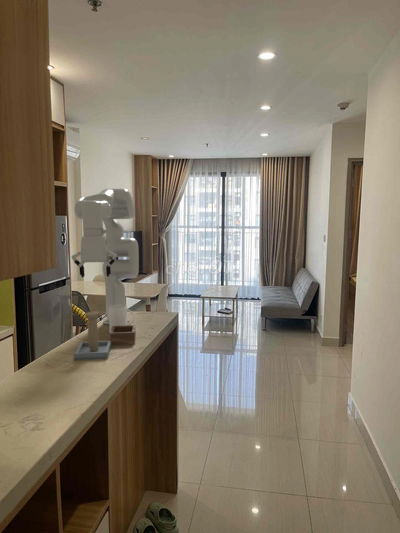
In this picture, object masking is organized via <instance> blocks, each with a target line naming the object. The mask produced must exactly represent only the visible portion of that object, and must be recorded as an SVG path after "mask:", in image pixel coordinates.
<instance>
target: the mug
mask: <svg viewBox="0 0 400 533" xmlns="http://www.w3.org/2000/svg"><path fill="white" fill-rule="evenodd" d="M128 312H129V313H130V314H131V315H132V317H133V318H132V321H131V322H130V323H129V322H127V317H128ZM134 322H135V314H134V311H132V310H130V309H129V308H127V305H126V304H125V305H112V306H109V324H108V325H109V334H110V332H111V329H112V326H127V325H133V324H134Z"/></svg>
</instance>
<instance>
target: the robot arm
mask: <svg viewBox="0 0 400 533" xmlns="http://www.w3.org/2000/svg"><path fill="white" fill-rule="evenodd" d="M135 208H136V207H135V205H134V200H133V197H132V195H131V192H130V191H129V190H128V189H126V188H104V189H102V190H101V191H100V192H99V193H98V194H97V193H96V194H93V195H87V196H84V197H81V198H79V199H78V200H77V201H76V202H75V204H74V215H75V216H76V218H77V219H79V220H82V232H83V233H82V234H83V236H82V237H81V239H80V251H78V252H77V253H75V254H73V255H71V259H72V261H73V262H74V264H75V265H76V266H78V268H79V276H81V278H84V277H85V276H86V275H85V266H84V265H85V263H103V264H102V272H103V277H104V278H103V279H104V287H105V309H106V311H105V312H106V318H104V320H103V324H105V325H109V306H112V305H126V287H125V284H124V283H123V281H122V280H121V279H126V280H127V279H135V278H137V277H138V275H139V273H140V272H139V271H140V270H139V268H140V267H139V262H140V261H139V259H140V256H139V243H138V240H137V239H136V238H134V237H124V228H123V225H122V224H121V223H120V222H119V221H118V220H131V219H133V218H134V217H135V215H136V214H135V213H136V209H135ZM104 227H105V229H104ZM79 256H80V261H79V260H78V259H77V258H78V257H79ZM109 257H111V259H109ZM118 258H128V259H118ZM129 322H130V318H129V317H128V316H127V323H129Z"/></svg>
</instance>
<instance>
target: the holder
mask: <svg viewBox="0 0 400 533" xmlns="http://www.w3.org/2000/svg"><path fill="white" fill-rule="evenodd" d="M136 332H137V329H136V325H135V324H134V325H133V324H131V325H127V326H112V329H111V332H110V333H109V341H111V346H123V345H124V346H125V345H135V344H136V337H137V334H136Z"/></svg>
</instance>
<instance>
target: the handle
mask: <svg viewBox="0 0 400 533" xmlns="http://www.w3.org/2000/svg"><path fill="white" fill-rule="evenodd" d="M84 317H85V318H86V319H87V324H88V325H87V328H88V329H87V340H88V341H87V342H89V348H90V351H97V350H98V343H99V341H100V340H99V328H98V318H99V317H100V311H98V310H92V311H91V310H90V311H86V312H85V313H84Z"/></svg>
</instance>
